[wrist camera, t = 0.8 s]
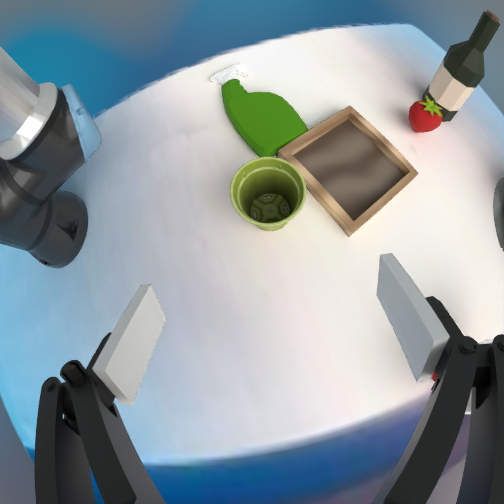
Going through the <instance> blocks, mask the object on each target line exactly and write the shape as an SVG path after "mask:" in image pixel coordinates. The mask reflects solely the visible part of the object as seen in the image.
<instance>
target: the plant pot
mask: <svg viewBox="0 0 504 504" xmlns="http://www.w3.org/2000/svg"><path fill="white" fill-rule="evenodd" d="M230 196H231V200H232V203H233V205H234V207H235V209H236V211H237V212H238V213H239V214H240V215H241V216H242V217H243V218H244V219H245V220H247V221H248V222H250V223H252V224H255V225H256V226H257V227H259V228H260V229H263V230H266V231H275V230H278V229H280V228H282V227H283V226H285V224H286V223H287V222H288V221H289V220H291V219H292V218H294V217H295V216H296V215H297V214H298V213H299V211H300V210H301V208H302V207H303V205H304V202H305V199H306V184H305V181H304V178H303V176H302V174H301V173H300V172H299V170H298V169H297V168H296V167H295V166H294V165H292V164H291V163H289V162H288V161H286V160H283V159H280V158H275V157H261V158H257V159H254V160H252V161H249V162H247V163H246V164H244V165H243V166H242V167H241V168H240V169H239V170H238V171H237V172H236V174H235V175H234V177H233V179H232V182H231V186H230ZM267 196H271V197H272V198H269V199H264V200H263V198H264V197H267ZM284 205H285V206H286V207H287V213H285V208H284ZM269 210H272V212H269ZM254 211H256V216H257V219H255V218H254Z"/></svg>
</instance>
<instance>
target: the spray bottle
mask: <svg viewBox="0 0 504 504" xmlns="http://www.w3.org/2000/svg"><path fill="white" fill-rule="evenodd" d="M240 67H242V65H241V64H240V63H239V64H236V65H232V66H230V67H227V68H225V69H223V70H220V71H218V72H216V73H214V74H213V75H212V76H211V77H210V79H211V82H219V83H220V84H222V96H223V101H224V105H225V109H226V113H227V115H228V117H229V119H230V120H231V122H232V124H233V125H234V127H235V129H236V130H237V132H238V133H239V134H240V135H241V136H242V138H243V139H244V140H245V141H246V142H247V144H248V145H249V146H250V147H251V148H252V149H253V150H254V151H255V152H256V153H257V154H258V155H259V156H260V157H272V156H274V155H276V154H278V150H280V149H281V148H283V147H284V146H286V145H287V144H289V143H290V142H292V141H293V140H295V139H296V138H298V137H299V136H301V135H303V134H304V133H306V132H307V131H308V129H307V127H306V125H305V123H304V122H303V121H302V119H301V118H300V117H299V115H298V114H297V113H296V111H295V110H294V109H293V107H292V106H291V105H290V104H289V103H288V102H287V101H286V100H284V99H283V98H282V97H280V96H278V95H276V94H273V93H270V92H253V93H247V91H246V90H244V89H243V86H241V85H240V81H239V80H238V79H233V78H234V76H236V75H238V76H244V77H249V75H247V74H244V73H242V72H239V71H238V70H237V69H238V68H240Z"/></svg>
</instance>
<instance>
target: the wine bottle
mask: <svg viewBox="0 0 504 504" xmlns="http://www.w3.org/2000/svg"><path fill="white" fill-rule="evenodd" d="M499 26H500V24H499V18H498V17H497V16H496V15H494V14H493V13H492V12H490V11H489V10H487V12H483V14H482V16H481V18H480V20H479V22H478V24H477V26H476V28H475V30H474V31H473V33H472V35H471V37H470V39H469V40H468V41H465V42H461V43H458V44H455V45H452V46H450V48H449V50H448V52H447V54H446V56H445V57H444V59H443V61H442V63H441V65H440V67H439V68H438V70H437V72H436V74H435V76H434V77H433V79H432V81H431V83H430V84H429V86H428V88H427V89H426V91H425V93H424V95H423V99H422V101H426V96H427V97H428V98H429V100H430V101H433V102H434V104H435V105H436V106H438V107H440V108H442V109H440V111H441V114H442V116H443V117H442V121H441V122H444V121H450V120H451V119H452V118H453V117H454V115H455V114H456V113H457V112H458V110H459V109H460V108H461V106H462V105H463V104H464V103H465V101H466V100H467V99H468V97H469V96H470V95H471V93H472V92H473V91H474V89H475V88H476V87H477V85H478V84H479V82H480V81H481V80H482V78H483V77H484V56H483V52H484V51H485V49H486V48H487V46H488V44H489V43H490V41H491V39H492V37H493V36H494V34H495V32H496V31H497V29H498V27H499ZM425 95H426V96H425ZM434 97H435V99H434ZM435 101H436V103H435Z"/></svg>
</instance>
